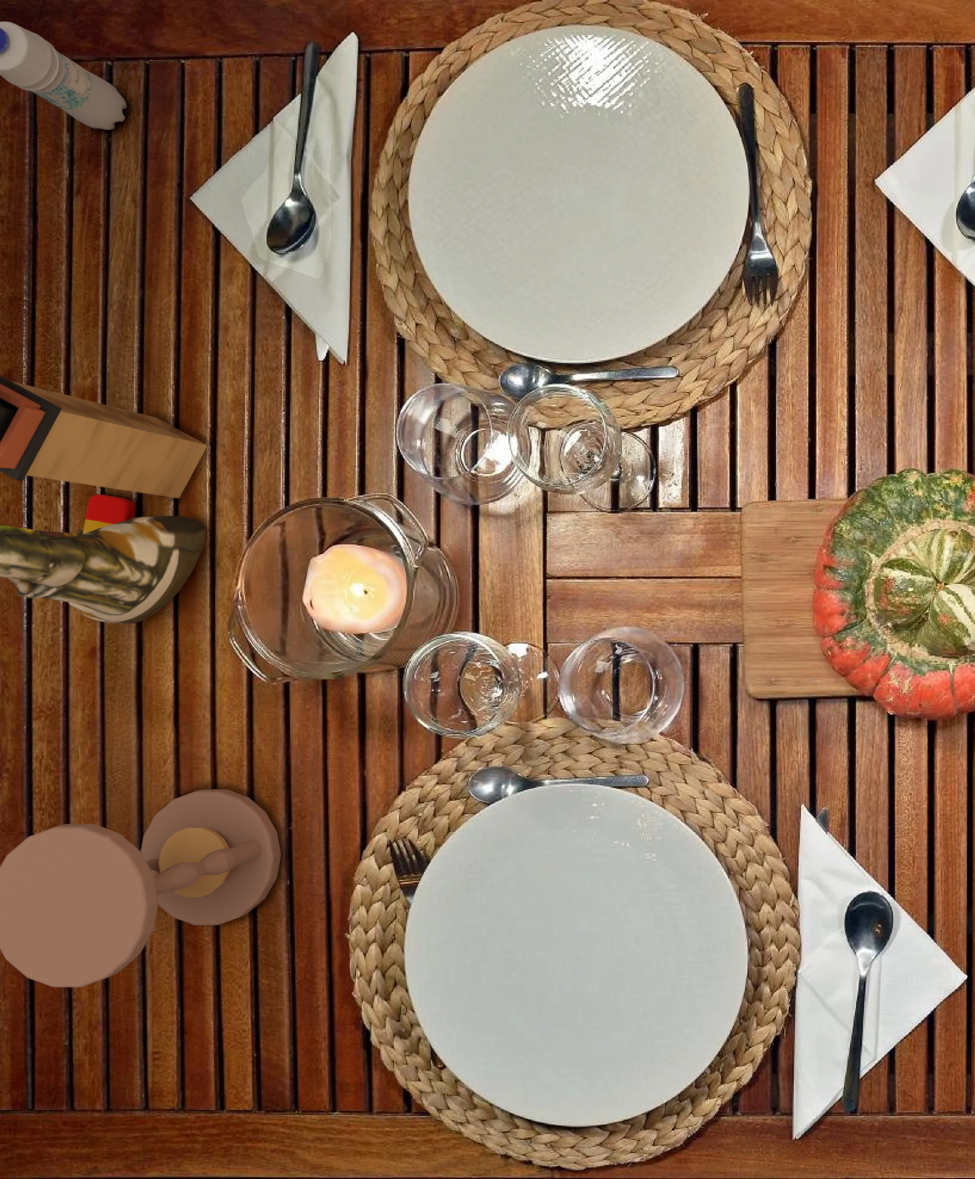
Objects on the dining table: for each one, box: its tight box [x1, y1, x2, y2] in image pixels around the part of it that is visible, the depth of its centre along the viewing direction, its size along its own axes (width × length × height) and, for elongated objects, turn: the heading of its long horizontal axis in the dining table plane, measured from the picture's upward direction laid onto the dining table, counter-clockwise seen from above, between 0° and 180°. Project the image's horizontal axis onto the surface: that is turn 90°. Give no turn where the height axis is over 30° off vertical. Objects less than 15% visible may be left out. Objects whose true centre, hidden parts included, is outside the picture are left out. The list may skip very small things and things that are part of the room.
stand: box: [11, 380, 208, 499], centre depth 130 cm, size 8×8×25 cm
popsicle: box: [82, 493, 137, 533], centre depth 141 cm, size 6×15×2 cm, turn 170°
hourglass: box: [0, 788, 282, 988], centre depth 128 cm, size 18×18×25 cm
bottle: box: [0, 21, 127, 131], centre depth 133 cm, size 7×7×20 cm
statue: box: [0, 514, 207, 625], centre depth 124 cm, size 16×11×35 cm, turn 142°
